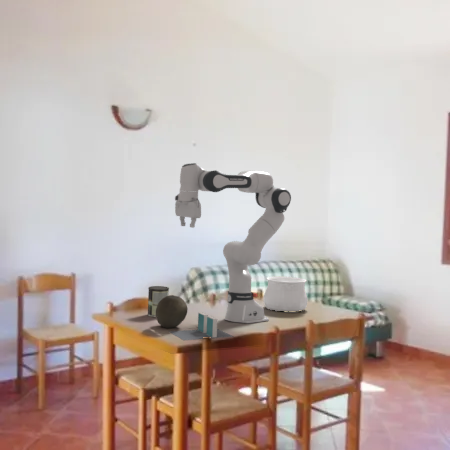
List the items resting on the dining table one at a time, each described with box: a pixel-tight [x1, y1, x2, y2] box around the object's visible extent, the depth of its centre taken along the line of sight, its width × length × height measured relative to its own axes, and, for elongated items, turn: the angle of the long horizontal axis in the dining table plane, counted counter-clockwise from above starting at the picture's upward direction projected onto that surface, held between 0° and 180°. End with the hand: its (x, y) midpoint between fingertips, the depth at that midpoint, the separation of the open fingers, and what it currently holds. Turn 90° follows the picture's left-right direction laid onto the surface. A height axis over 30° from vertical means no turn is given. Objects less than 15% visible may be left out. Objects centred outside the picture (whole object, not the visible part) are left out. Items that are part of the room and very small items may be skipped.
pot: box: [263, 276, 308, 312], centre depth 353 cm, size 26×24×17 cm
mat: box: [168, 328, 234, 341], centre depth 280 cm, size 24×17×1 cm
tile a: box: [197, 311, 209, 333], centre depth 285 cm, size 2×6×8 cm, turn 28°
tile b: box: [206, 315, 218, 337], centre depth 277 cm, size 2×6×8 cm, turn 28°
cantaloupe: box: [155, 294, 189, 329], centre depth 292 cm, size 14×14×15 cm
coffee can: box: [147, 285, 170, 318], centre depth 320 cm, size 10×10×14 cm
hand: (187, 226), depth 300 cm, fingers open, 8 cm apart
